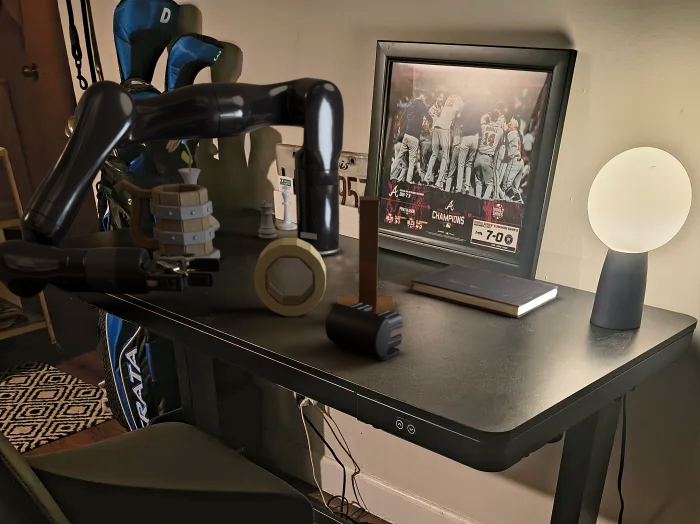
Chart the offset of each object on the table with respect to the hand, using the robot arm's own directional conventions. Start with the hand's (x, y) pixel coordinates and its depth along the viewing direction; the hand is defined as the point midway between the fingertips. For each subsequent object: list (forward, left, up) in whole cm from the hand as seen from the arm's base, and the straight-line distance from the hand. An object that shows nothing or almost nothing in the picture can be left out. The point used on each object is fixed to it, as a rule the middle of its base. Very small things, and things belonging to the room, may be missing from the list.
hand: (216, 272), depth 126 cm
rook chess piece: (-53, +4, -7) cm, 54 cm away
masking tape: (0, +12, -7) cm, 14 cm away
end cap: (+19, +24, -7) cm, 32 cm away
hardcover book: (-11, +48, -7) cm, 50 cm away
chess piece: (-63, +8, -7) cm, 64 cm away
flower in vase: (-55, -12, -7) cm, 57 cm away
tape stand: (+1, +26, -7) cm, 26 cm away
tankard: (-34, -14, -7) cm, 38 cm away
